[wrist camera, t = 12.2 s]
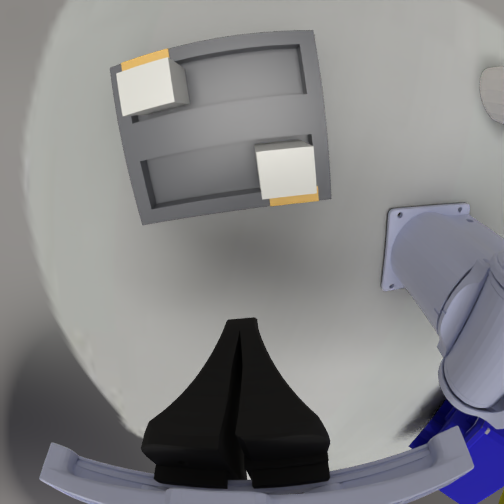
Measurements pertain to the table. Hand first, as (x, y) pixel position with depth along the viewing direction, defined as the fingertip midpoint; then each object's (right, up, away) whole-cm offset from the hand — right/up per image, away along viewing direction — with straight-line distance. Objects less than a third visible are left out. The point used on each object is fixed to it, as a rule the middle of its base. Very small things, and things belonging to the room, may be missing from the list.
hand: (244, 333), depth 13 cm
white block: (+2, +10, +5) cm, 11 cm away
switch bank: (-2, +13, +5) cm, 14 cm away
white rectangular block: (-5, +14, +2) cm, 15 cm away
